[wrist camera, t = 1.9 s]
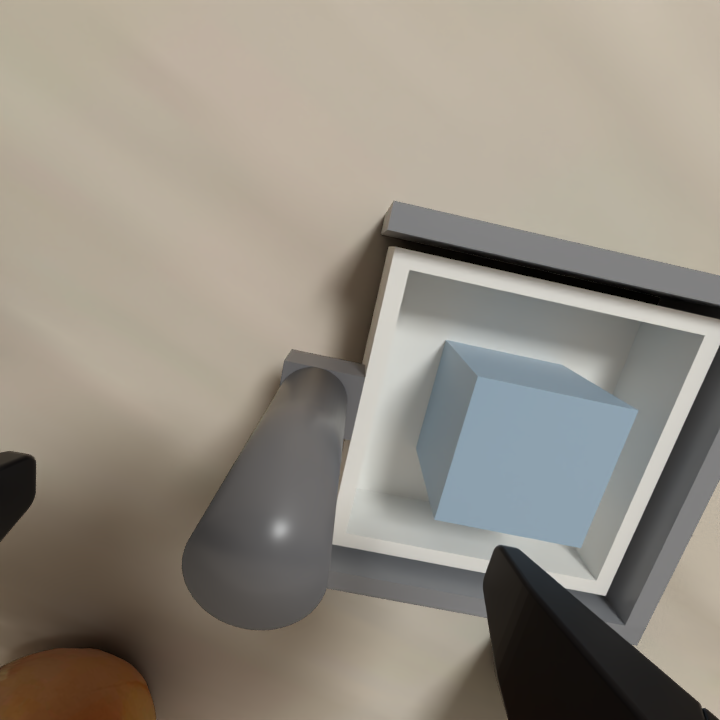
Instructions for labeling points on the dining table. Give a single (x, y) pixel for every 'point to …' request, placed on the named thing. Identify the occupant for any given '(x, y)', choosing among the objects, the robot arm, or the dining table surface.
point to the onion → (73, 687)
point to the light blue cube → (518, 444)
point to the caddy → (402, 429)
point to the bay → (679, 476)
